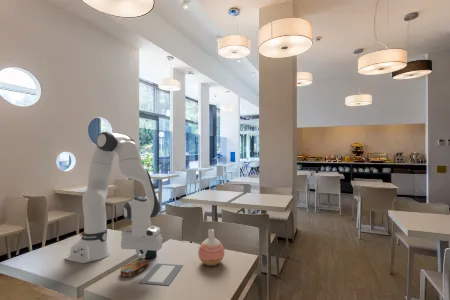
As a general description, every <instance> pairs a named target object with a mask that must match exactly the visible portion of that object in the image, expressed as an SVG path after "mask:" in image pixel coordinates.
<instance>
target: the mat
mask: <svg viewBox="0 0 450 300" xmlns="http://www.w3.org/2000/svg"><path fill="white" fill-rule="evenodd" d="M183 267H184V265H183V264H171V263H169V264H168V263H159V262H158V263H156V264H155V265H154V266H153V267H152V268H151V269H150V270H148V271H149V272H147V274H145V276H143V278H141V280H140V281H139V282H138V284H142V285H151V286H152V285H153V286H165V287H169V286H170V285H171V283H172V282H173V280H174V279H175V278H176V276H177V275H178V273H179V272H180V271H181V269H182V268H183Z"/></svg>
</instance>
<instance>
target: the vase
mask: <svg viewBox="0 0 450 300" xmlns="http://www.w3.org/2000/svg"><path fill="white" fill-rule="evenodd" d="M207 232H208V233H207V234H208V235H207V236H208V237H206V238H205V240H204V241H202V242H201V244H200V245H199V248H198V252H197V254H198V255H197V256H198V258H199V260H200V261H201V262H202V264H204V265H205V266H207V267H215V266H217V265H219V263H221V262H222V261H223V259H224V257H225V249H224V248H225V247H224V245H223V244H222V242H221V241H220V240H218V239H217V238H216V237H215V229H214V228H209V229H208V231H207Z"/></svg>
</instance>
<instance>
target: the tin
mask: <svg viewBox="0 0 450 300" xmlns="http://www.w3.org/2000/svg"><path fill="white" fill-rule="evenodd" d="M149 262H150V260H147V259H134V260H133V261H131V262H129V263H127V264H125V265H123V266H122V267H121V268H120V276H121V277H124V278H131V277H134V276H137V275H138V274H140V273H141V272H143V271H144V270H146V269H147V268H148V267H149Z"/></svg>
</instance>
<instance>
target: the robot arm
mask: <svg viewBox="0 0 450 300" xmlns="http://www.w3.org/2000/svg"><path fill="white" fill-rule="evenodd" d="M95 141H96V142H95V144H96V146H95V149H94V152H93V154H92V158H91V162H90V167H89V172H88V178H87V179H88V180H87V188H86V191H84V192H83V195H82V199H81V200H82V212H83V220H84V221H83V230H84V231H83V232H81V233H80V234H79V237H81V238H80V239H79V240H77V241H75V243H74V244H73V245H71V247H70V250H69V253H68V254H66V255H65V257H64V260H65V259H66V261H71V262H76V263H81V264H86V263H90V262H94V261H99V260H102V259H105V258H107V257H108V256H109V255H110V251H109V248H108V247H109V246H108V240H107V239H108V229H107V212H106V211H107V210H106V209H107V208H106V199H107V197H108V192H109V186H110V180H111V175H112V169H113V165H114V158H115V156H116V155H118V166H119V172H120V173H121V174H122V175H123V176H124V177H126V178H129V179H131V180H135V181H138V182H140V183H141V184H142V186H143V189H144V192H145V195H136V196H134V197H132V200H130V201H127V202H126V203H124V205H123V209H122V215H123V218H124V219H126V220H128V221H131V228H129V229H128V228H126V229H123V230H122V231H121V241H120V248H121V249H122V250H135V253H136V255H137V258H138V259H144V258H145V254H146V252H147V250H153V251H157V252H159V251H160V250H161V249H162V247H163V236H162V234H161V233H160V232H161V228H160V227H158V226H156V225H154V224H152V222H151V218H155V217H157V216H158V214H159V213H160V211H161V205H160V200H159V199H158V197H157V194H156V191H155V188H154V184H153V181H152V178H151V175H150V172H149V171H148V169H146V168H145V167H144V166H143V164H142V160H141V153H140V149H139V146H138V144H137V143H136V141H135V139H134V138H132V137H131V136H129V135H125V134H121V133H115V132H111V131H102V132H100V133H99V134H98V135H97V137H96V140H95ZM140 250H143V252H144V253H143V254H141V253H140Z"/></svg>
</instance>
